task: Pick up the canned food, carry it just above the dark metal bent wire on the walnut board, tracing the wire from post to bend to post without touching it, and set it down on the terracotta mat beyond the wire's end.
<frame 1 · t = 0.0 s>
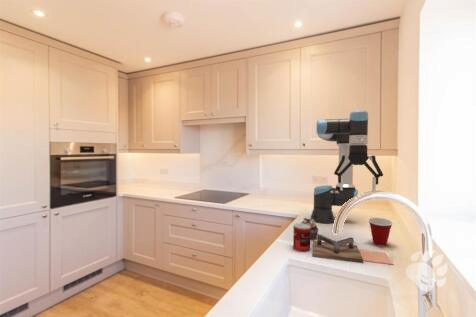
hand: (357, 191, 112), 28 cm above the worktop, tool pointing down, fingers open, 13 cm apart
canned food: (301, 248, 116), on the worktop
plastic cup: (379, 244, 122), on the worktop
cupcake: (309, 237, 131), on the worktop
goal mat: (374, 257, 106), on the worktop
wire board: (335, 252, 111), on the worktop
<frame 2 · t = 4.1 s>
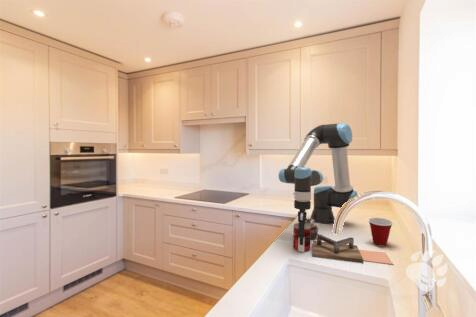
hand: (301, 247, 116), 0 cm above the worktop, tool pointing down, fingers closed on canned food, 8 cm apart
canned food: (301, 248, 116), on the worktop, touching gripper
everything else where it was.
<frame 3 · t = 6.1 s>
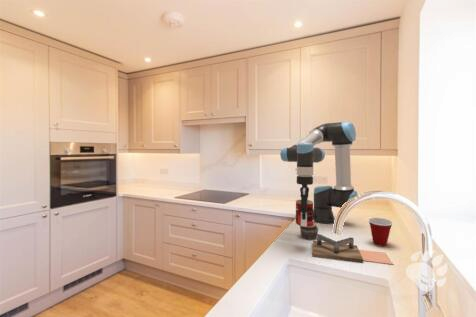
hand: (304, 223, 116), 12 cm above the worktop, tool pointing down, fingers closed on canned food, 8 cm apart
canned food: (304, 224, 116), point 11 cm above the worktop, touching gripper
everything else where it was.
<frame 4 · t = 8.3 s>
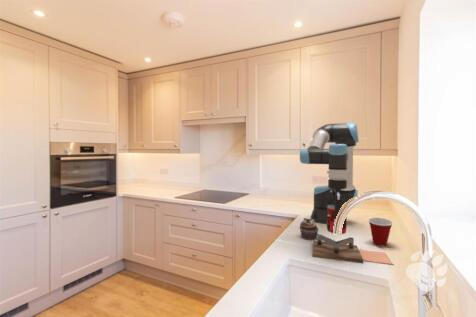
hand: (336, 230, 107), 11 cm above the worktop, tool pointing down, fingers closed on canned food, 8 cm apart
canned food: (336, 231, 107), point 11 cm above the worktop, touching gripper
everything else where it was.
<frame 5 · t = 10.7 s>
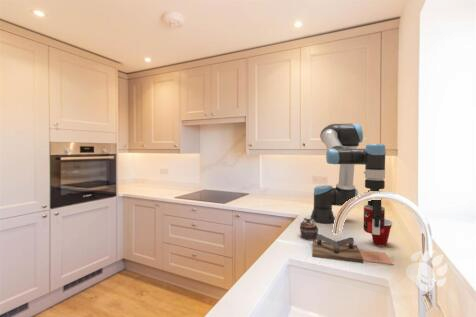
hand: (373, 231, 106), 11 cm above the worktop, tool pointing down, fingers closed on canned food, 8 cm apart
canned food: (373, 232, 106), point 11 cm above the worktop, touching gripper
everything else where it was.
when the fingers open (2 cm above the worktop, at t = 12.9 s): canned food drops 1 cm, resting on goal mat.
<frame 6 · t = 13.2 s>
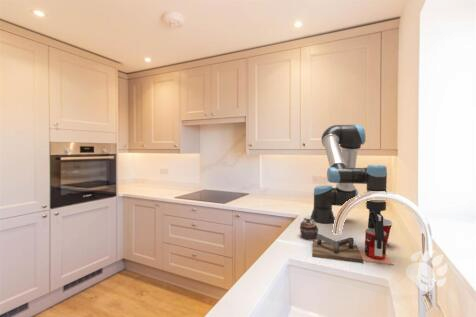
hand: (375, 250, 106), 3 cm above the worktop, tool pointing down, fingers open, 11 cm apart
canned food: (374, 256, 106), resting on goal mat
everything else where it was.
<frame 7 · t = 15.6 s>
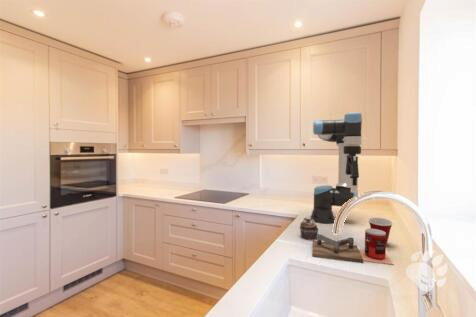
hand: (351, 189, 117), 28 cm above the worktop, tool pointing down, fingers open, 13 cm apart
nothing on the worktop moved.
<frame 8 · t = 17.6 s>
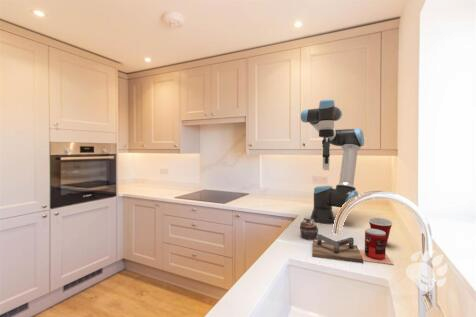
hand: (325, 169, 129), 37 cm above the worktop, tool pointing down, fingers open, 13 cm apart
nothing on the worktop moved.
at the end: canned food inside the target area (0.1 cm from its centre), resting on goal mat; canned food tilted 0°; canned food touching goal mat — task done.
